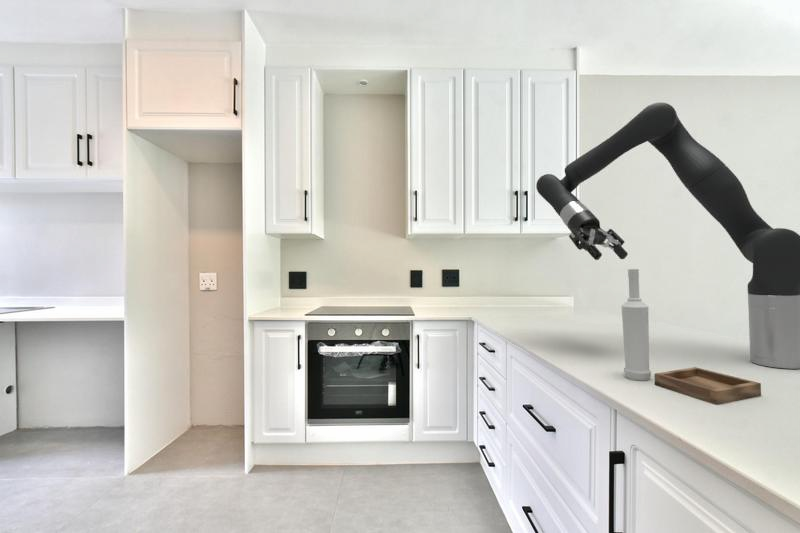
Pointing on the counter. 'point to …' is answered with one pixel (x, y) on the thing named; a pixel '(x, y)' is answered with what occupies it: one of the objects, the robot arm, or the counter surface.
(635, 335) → the bottle
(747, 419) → the counter surface
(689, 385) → the walnut tray
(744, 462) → the counter surface
